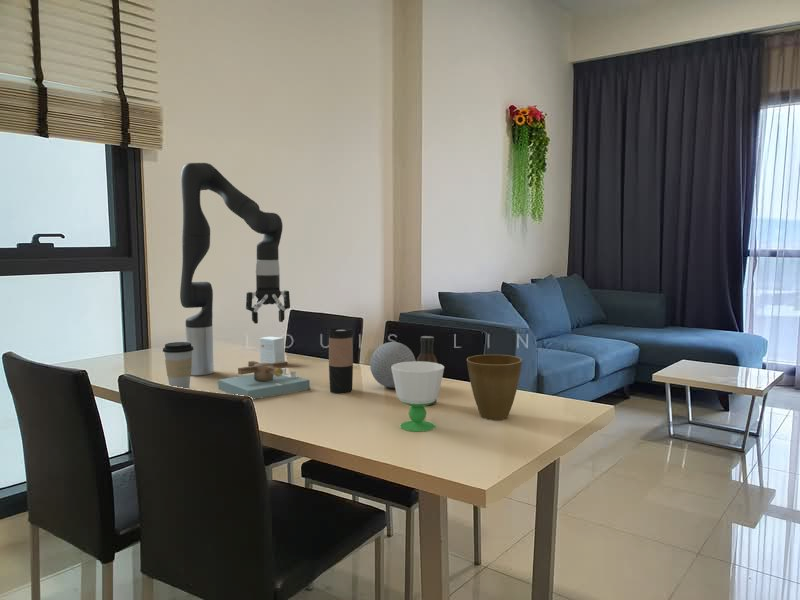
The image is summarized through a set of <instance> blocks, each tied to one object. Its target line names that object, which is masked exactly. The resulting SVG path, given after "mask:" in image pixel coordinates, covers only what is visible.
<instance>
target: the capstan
mask: <svg viewBox="0 0 800 600" xmlns="http://www.w3.org/2000/svg"><path fill="white" fill-rule="evenodd" d="M247 363H248V366H243V367H237V371H238V372H237V373H238V374H237V375H241V376H243V375H249V374H254V380H256V381H269V380H272V379H273V375H276V376H281V375H282V374H283V371H282V369H281V368H286V369H287V368H289V363H288V361H287V360H285V361H283V362H276V363H260V361H259V362H258V361H255V360H249V361H248V362H247Z"/></svg>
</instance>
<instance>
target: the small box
mask: <svg viewBox="0 0 800 600" xmlns="http://www.w3.org/2000/svg"><path fill="white" fill-rule="evenodd" d="M285 354H286V353H285V337H278V336H264V337H259V358H260V361H259V363H276V362H283V361H286V358H285Z"/></svg>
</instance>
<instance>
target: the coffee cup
mask: <svg viewBox="0 0 800 600" xmlns="http://www.w3.org/2000/svg"><path fill="white" fill-rule="evenodd" d="M192 350H194V349H193V346H191V343H189V342H186V341H176V342H175V341H173V342H168V343H165V344H164V347H162V353H164V362H165V370H166V376H167V382H168V386H169V385H171V386H177V387H183V388H189V389H190V383H191V376H192V375H191V367H192Z"/></svg>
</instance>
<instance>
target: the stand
mask: <svg viewBox="0 0 800 600" xmlns="http://www.w3.org/2000/svg"><path fill="white" fill-rule="evenodd" d="M281 369H282V371H283V374H282V375H281V376H276V375H273V379H272V380H269V381H256V380H254V373H251V374H244V375H241V376H234V377H227V378H221V379H218V380H217V388H218V390H221V391H223V392H225V393H228V394H230V393H231V394H230V395H233V394H238V395H244V396H250V397H252V398H253V399H254V398H259V399H262V398H261V397H265V398H268V397H267V396H270V397H274V396H273V395H275V396H280V395H279V394H281V395H285V394H284V393H286V394H291V393H297V392H300V391H301V390H302V391H306V390H307V391H308V390H310V388H311V386H310V381H311V380H310V379H308V378H305V377H301V376H297V371H296V370H291V371H290V373H288V372H287V368H281ZM296 391H297V392H296ZM290 392H291V393H290ZM254 400H255V399H254Z"/></svg>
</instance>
